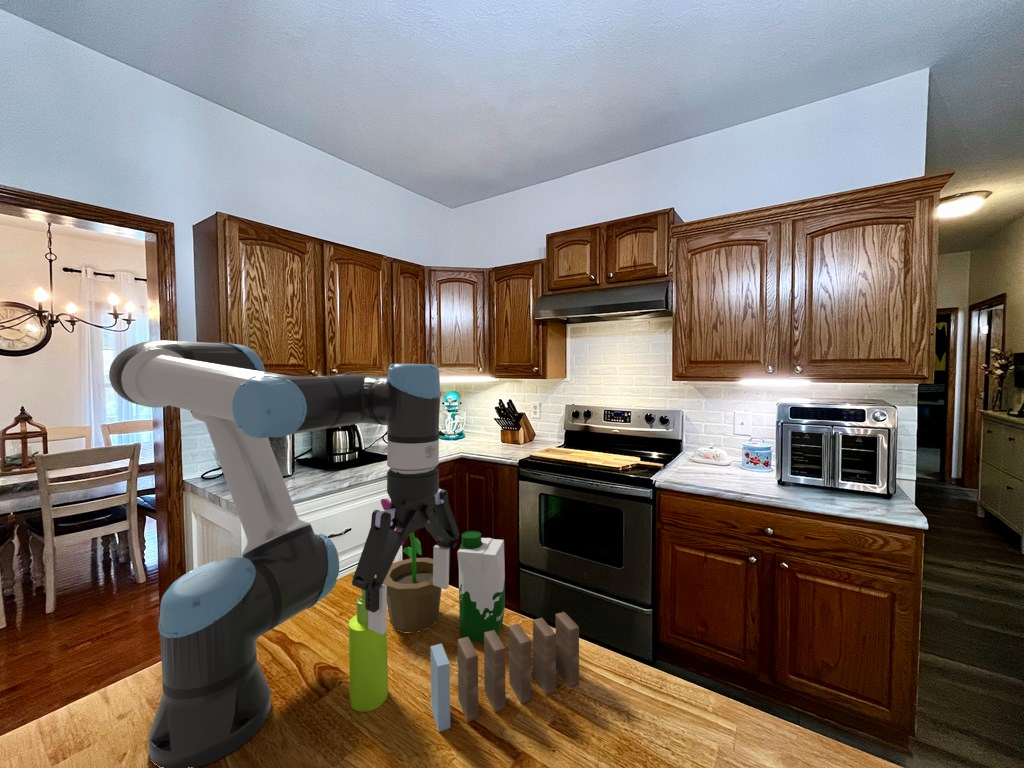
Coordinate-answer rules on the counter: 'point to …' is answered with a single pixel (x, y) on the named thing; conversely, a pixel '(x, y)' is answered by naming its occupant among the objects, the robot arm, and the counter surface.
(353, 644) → the soap dispenser
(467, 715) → the domino
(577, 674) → the domino
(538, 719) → the counter surface
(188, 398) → the robot arm
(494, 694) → the domino
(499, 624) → the milk carton
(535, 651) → the domino
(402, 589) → the flowerpot
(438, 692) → the domino
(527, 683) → the domino
